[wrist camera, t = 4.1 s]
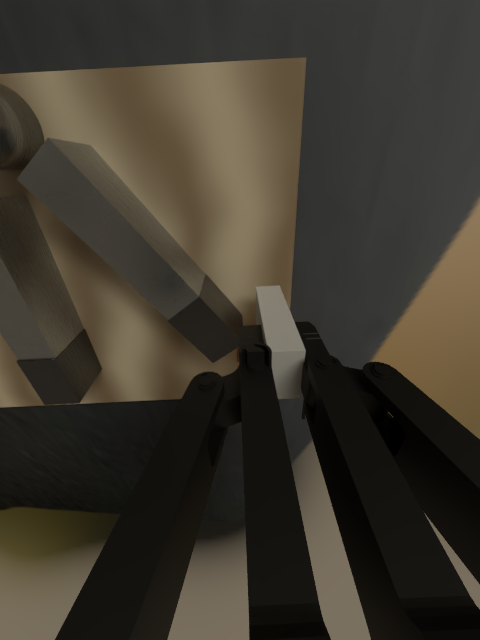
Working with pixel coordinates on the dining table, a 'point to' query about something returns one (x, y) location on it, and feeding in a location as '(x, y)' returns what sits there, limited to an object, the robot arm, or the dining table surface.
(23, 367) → the tongs fixed
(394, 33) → the dining table surface
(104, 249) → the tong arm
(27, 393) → the board
